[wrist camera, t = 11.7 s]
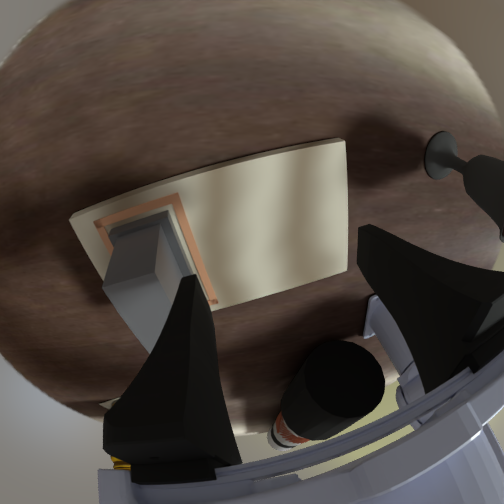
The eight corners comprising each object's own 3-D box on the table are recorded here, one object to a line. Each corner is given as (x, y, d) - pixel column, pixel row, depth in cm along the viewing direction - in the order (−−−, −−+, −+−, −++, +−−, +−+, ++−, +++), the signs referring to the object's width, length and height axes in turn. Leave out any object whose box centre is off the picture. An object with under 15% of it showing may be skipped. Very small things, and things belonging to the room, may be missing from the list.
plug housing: (160, 223, 18) (154, 272, 14) (195, 304, 22) (201, 355, 18) (117, 237, 17) (101, 287, 13) (159, 313, 22) (158, 364, 18)
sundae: (420, 196, 23) (533, 299, 11) (414, 131, 19) (565, 221, 7) (461, 176, 23) (566, 258, 11) (459, 116, 19) (588, 187, 7)
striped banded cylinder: (259, 416, 54) (245, 456, 46) (311, 330, 32) (295, 407, 25) (303, 427, 53) (293, 468, 45) (385, 350, 31) (383, 424, 23)
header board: (338, 137, 19) (377, 158, 15) (342, 264, 26) (367, 300, 22) (73, 213, 18) (48, 252, 14) (137, 321, 25) (134, 365, 21)
